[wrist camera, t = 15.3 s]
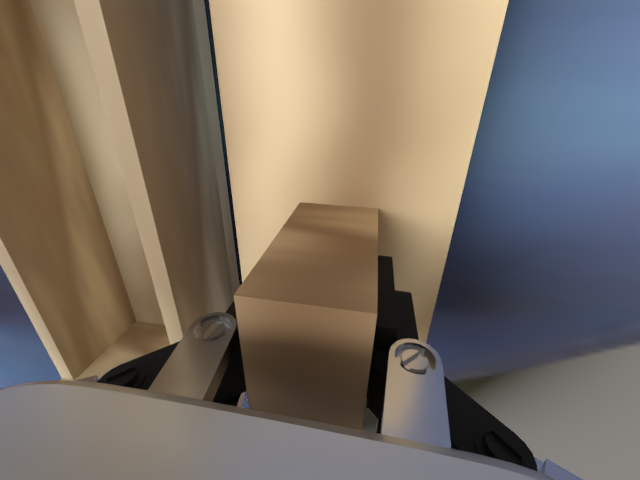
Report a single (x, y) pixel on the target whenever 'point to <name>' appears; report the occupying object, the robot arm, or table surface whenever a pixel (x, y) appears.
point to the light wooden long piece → (111, 176)
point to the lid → (343, 176)
